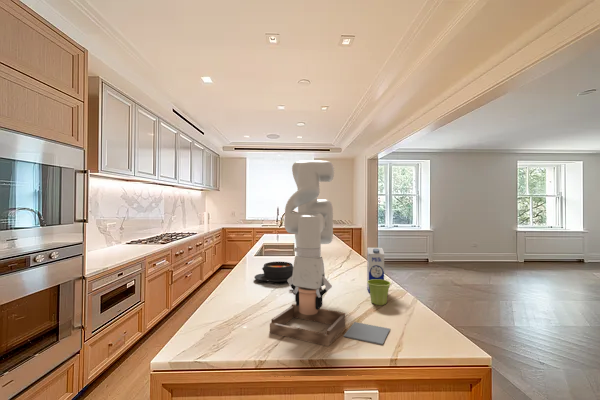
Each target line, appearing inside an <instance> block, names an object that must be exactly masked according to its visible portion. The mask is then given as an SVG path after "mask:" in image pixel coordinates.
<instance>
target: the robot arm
mask: <svg viewBox="0 0 600 400" xmlns="http://www.w3.org/2000/svg"><path fill="white" fill-rule="evenodd" d="M291 169H292V176H293V179H294V183H295V185H296V187H297V191H295V192H294V193H293V194H292V195H291V196H290V197H289V198H288V200H287V202H286V205H285V208H284V223H283V224H284V229H285V230H286V232H287V233H289V234H294V238H295V245H296V247H294V250H293V251H294V252H296V255H295V256H294V261H293V275H292V276H291V277H290V278H289V279H288V280H287V282H286V283H288V285H289V286H290V288H291V289H292V292H293V294H294V295H295V304H296V306H299V291H298V287H301V288H307V289H314V290H316V294H317V297H316V309H317V310H318V309H319V308H320V309H321V308H322V306H323V296H324V295H325V294H326V293H327V292H328V291H329V290H330V289H332V284H331V283H330V282H329V281H328V279H327V278H326V277H325V274H326V273H325V264H324V258H323V256H322V255H321V253H322V252H321V251H322V250H321V246H322V245H329V244H331V243H332V242H333V238H334V237H333V236H334V219H333V218H334V208H333V203H332V202H331V201H330V200H329V199H318V197H319V195H320V193H321V192H320V191H321V189H320V183H322V182H323V183H324V182H325V183H328V182H332V181H333V179H334V176H335V170H334V169H335V168H334V165H333V163H332V161H329V160H299V161H296V162H293V164H292V166H291ZM296 208H297V212H294V210H295V209H296ZM323 286H325V287H324V288H323Z"/></svg>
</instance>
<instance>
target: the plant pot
mask: <svg viewBox="0 0 600 400" xmlns="http://www.w3.org/2000/svg"><path fill="white" fill-rule="evenodd" d="M366 282H367V283H368V285H369V289H370V293H369V295H370V302H371V304H374V305H376V306H384V305H386V304H387V303H388V302H387V301H388V295H389V289H390V287H391V284H392V283H391V281H388V280H386V279H384V280H380V279H372V280H368V281H367V280H366ZM367 283H366V284H367Z"/></svg>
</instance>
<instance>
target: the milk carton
mask: <svg viewBox="0 0 600 400" xmlns="http://www.w3.org/2000/svg"><path fill="white" fill-rule="evenodd" d="M366 251H367V261H366V262H367V263H366V264H367V268H366V269H367V272H366V273H367V274H366V277H367V278H366V282H367V281H368V280H372V279H380V280H385V251H384V249H383V247H367V249H366ZM366 286H367V287H366V288H367V292H368V293H369V294H370V289H369V285H368V283H366Z"/></svg>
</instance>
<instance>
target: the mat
mask: <svg viewBox="0 0 600 400" xmlns="http://www.w3.org/2000/svg"><path fill="white" fill-rule="evenodd" d="M390 331H391V328H387V327H383V326H378V325H372V324H369V323H368V324H367V323H362V322H356V321H354V322H353V323H352V325H350V327H349V328H348V329H347V330H346V332H345V333H344V334H343V337H344V338H347V339H353V340H355V341H356V340H357V341H361V342H366V343H371V344H376V345H380V346H383V345H384V343H385V341H386V340H387V338H388V335H389V333H390Z"/></svg>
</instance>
